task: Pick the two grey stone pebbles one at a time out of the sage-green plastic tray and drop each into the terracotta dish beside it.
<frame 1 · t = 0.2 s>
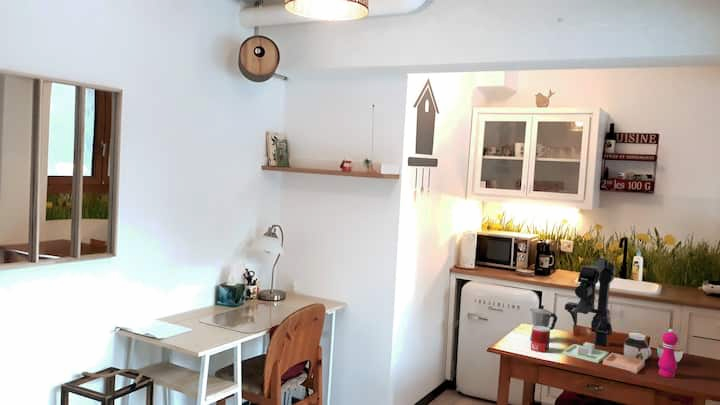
hand: (585, 328, 273), 14 cm above the table, tool pointing down, fingers open, 9 cm apart
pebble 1: (588, 352, 279), point 1 cm above the table, touching green tray
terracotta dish: (623, 365, 265), on the table
green tray: (585, 355, 276), on the table
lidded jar: (668, 362, 274), on the table
pepper mill: (666, 375, 256), on the table
spread jar: (636, 359, 276), on the table
coffeepot: (541, 342, 294), on the table
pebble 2: (582, 356, 273), point 1 cm above the table, touching green tray
canned food: (539, 351, 279), on the table
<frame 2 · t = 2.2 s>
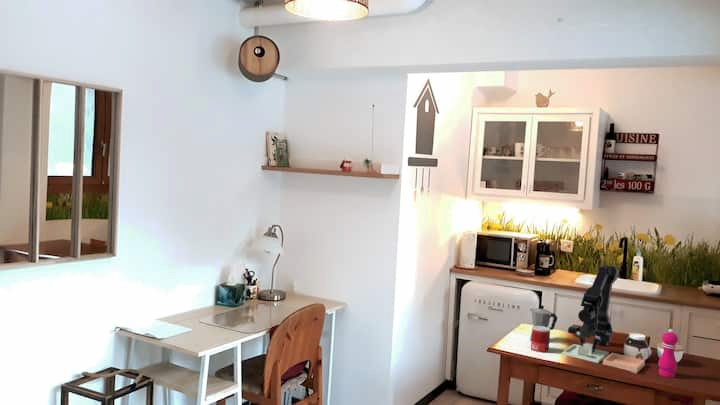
hand: (588, 351, 279), 1 cm above the table, tool pointing down, fingers closed on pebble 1, 4 cm apart
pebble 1: (588, 352, 279), point 1 cm above the table, touching green tray, gripper
everything else where it was.
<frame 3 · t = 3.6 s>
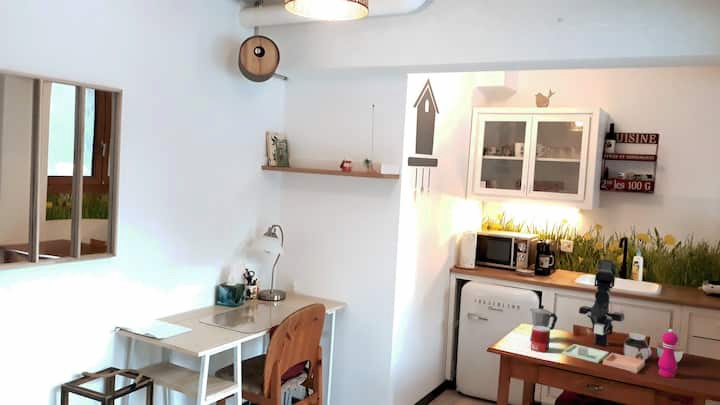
hand: (599, 331, 275), 12 cm above the table, tool pointing down, fingers closed on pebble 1, 4 cm apart
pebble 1: (599, 333, 275), point 11 cm above the table, touching gripper
everything else where it was.
when the fingers open (3 cm above the table, at t = 5.2 s): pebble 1 drops 2 cm, resting on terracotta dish.
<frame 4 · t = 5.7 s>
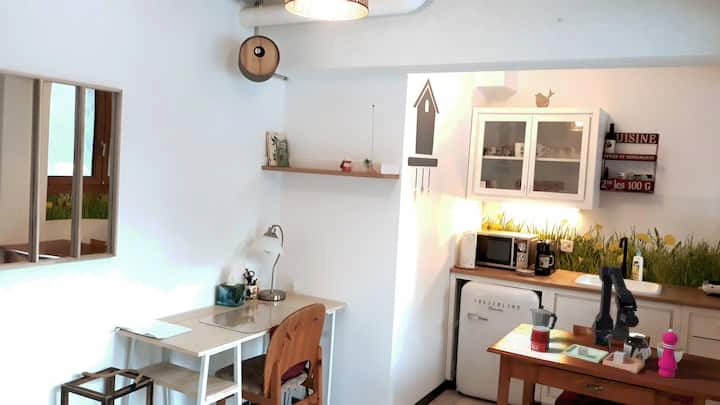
hand: (619, 355, 268), 3 cm above the table, tool pointing down, fingers open, 9 cm apart
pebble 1: (619, 361, 268), point 1 cm above the table, touching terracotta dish
everything else where it was.
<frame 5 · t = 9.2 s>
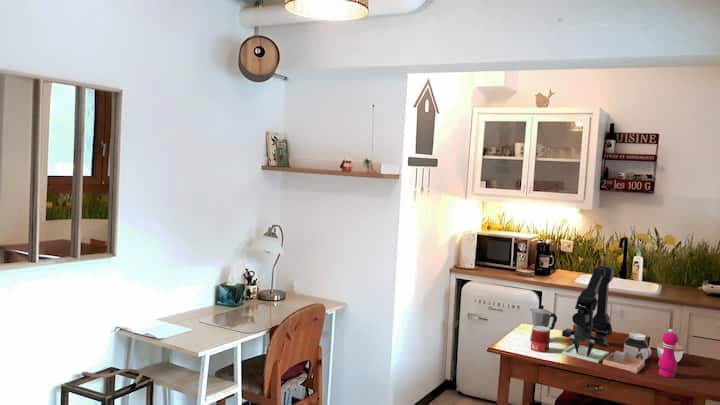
hand: (582, 355, 273), 1 cm above the table, tool pointing down, fingers closed on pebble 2, 4 cm apart
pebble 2: (582, 356, 273), point 1 cm above the table, touching green tray, gripper
everything else where it was.
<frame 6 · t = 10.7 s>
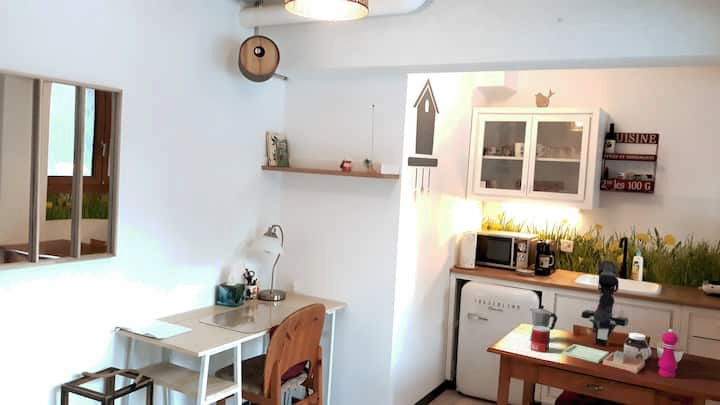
hand: (603, 336, 267), 12 cm above the table, tool pointing down, fingers closed on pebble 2, 4 cm apart
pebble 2: (602, 338, 267), point 11 cm above the table, touching gripper
everything else where it was.
when the fingers open (3 cm above the table, at t = 12.4 s): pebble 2 drops 2 cm, resting on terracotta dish.
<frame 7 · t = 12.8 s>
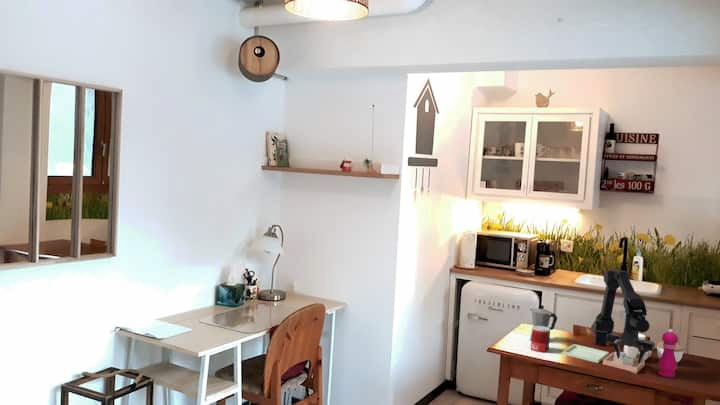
hand: (628, 360, 261), 3 cm above the table, tool pointing down, fingers open, 8 cm apart
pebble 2: (628, 367, 261), point 1 cm above the table, touching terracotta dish
everything else where it was.
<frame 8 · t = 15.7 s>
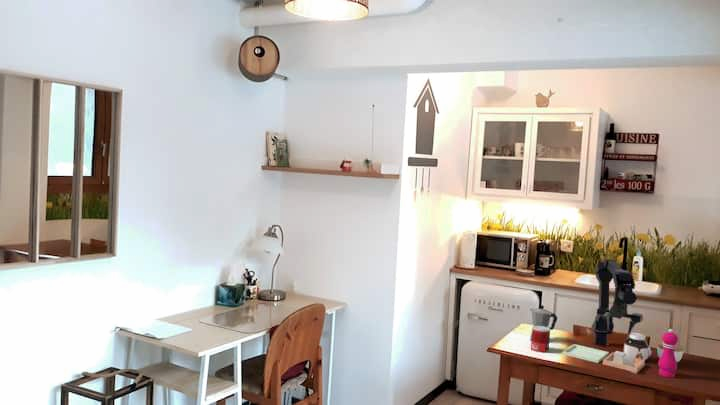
hand: (618, 332, 272), 12 cm above the table, tool pointing down, fingers open, 9 cm apart
nothing on the table moved.
at the end: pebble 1 inside the target area on the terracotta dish (3.5 cm from its centre), point 0.6 cm above the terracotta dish's base; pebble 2 inside the target area on the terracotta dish (3.6 cm from its centre), point 0.6 cm above the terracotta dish's base; the gripper is holding nothing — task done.
